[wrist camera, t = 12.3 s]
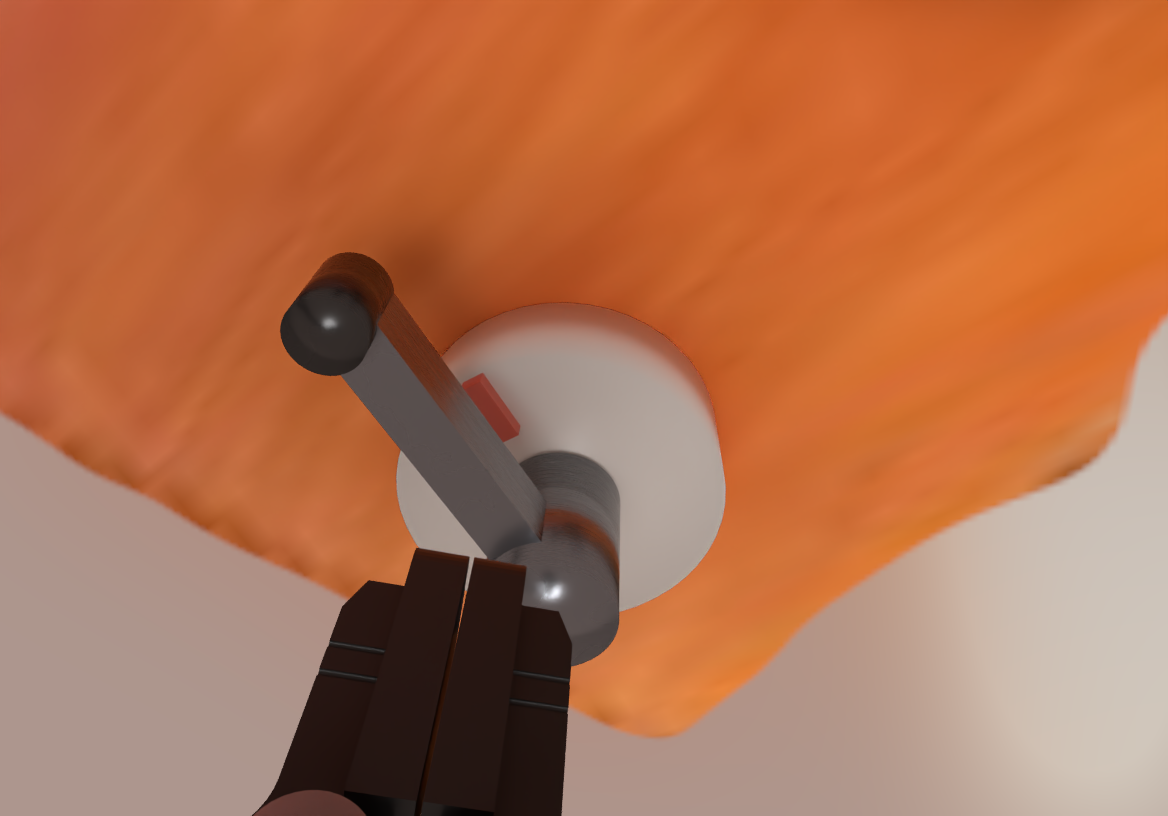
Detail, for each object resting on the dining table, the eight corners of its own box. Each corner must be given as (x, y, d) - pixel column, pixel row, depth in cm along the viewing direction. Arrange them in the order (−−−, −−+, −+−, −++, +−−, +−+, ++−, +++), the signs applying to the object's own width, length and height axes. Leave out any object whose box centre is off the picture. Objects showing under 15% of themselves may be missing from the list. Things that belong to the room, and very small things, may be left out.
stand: (518, 587, 40) (507, 665, 36) (358, 386, 35) (324, 452, 31) (764, 488, 37) (781, 563, 33) (627, 247, 31) (627, 302, 27)
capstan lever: (641, 522, 32) (644, 640, 27) (539, 564, 34) (524, 684, 29) (416, 187, 26) (367, 263, 21) (300, 254, 27) (229, 340, 23)
